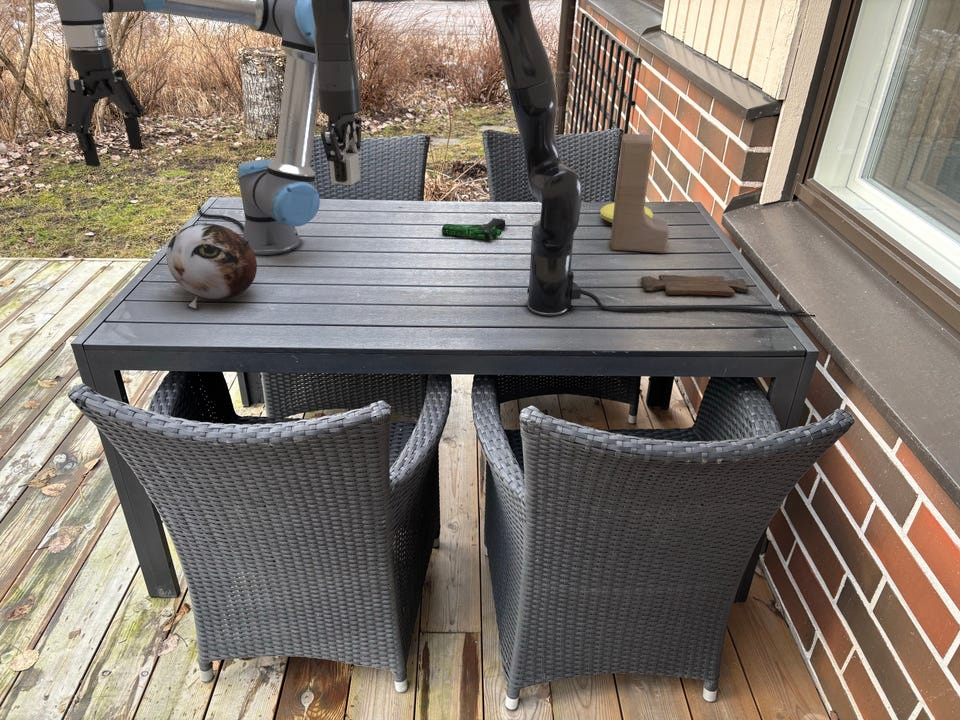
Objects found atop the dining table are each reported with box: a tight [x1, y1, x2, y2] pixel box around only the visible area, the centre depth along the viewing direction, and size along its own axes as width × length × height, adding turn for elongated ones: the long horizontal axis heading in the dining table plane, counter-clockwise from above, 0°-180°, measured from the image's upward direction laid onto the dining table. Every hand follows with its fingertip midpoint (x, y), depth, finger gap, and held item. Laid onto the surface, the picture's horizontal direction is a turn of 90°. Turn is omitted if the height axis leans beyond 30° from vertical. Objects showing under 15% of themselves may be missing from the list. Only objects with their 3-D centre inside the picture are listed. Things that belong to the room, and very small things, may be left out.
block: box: [328, 151, 361, 186], centre depth 138 cm, size 4×4×5 cm
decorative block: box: [610, 133, 670, 254], centre depth 191 cm, size 8×15×30 cm, turn 82°
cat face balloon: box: [165, 222, 258, 309], centre depth 165 cm, size 22×18×20 cm
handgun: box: [441, 217, 506, 242], centre depth 207 cm, size 16×3×15 cm
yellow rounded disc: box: [599, 202, 654, 224], centre depth 215 cm, size 16×16×7 cm
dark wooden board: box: [640, 274, 748, 297], centre depth 176 cm, size 26×2×10 cm
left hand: (116, 157), depth 150 cm, fingers open, 13 cm apart
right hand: (346, 177), depth 139 cm, fingers closed on block, 4 cm apart
